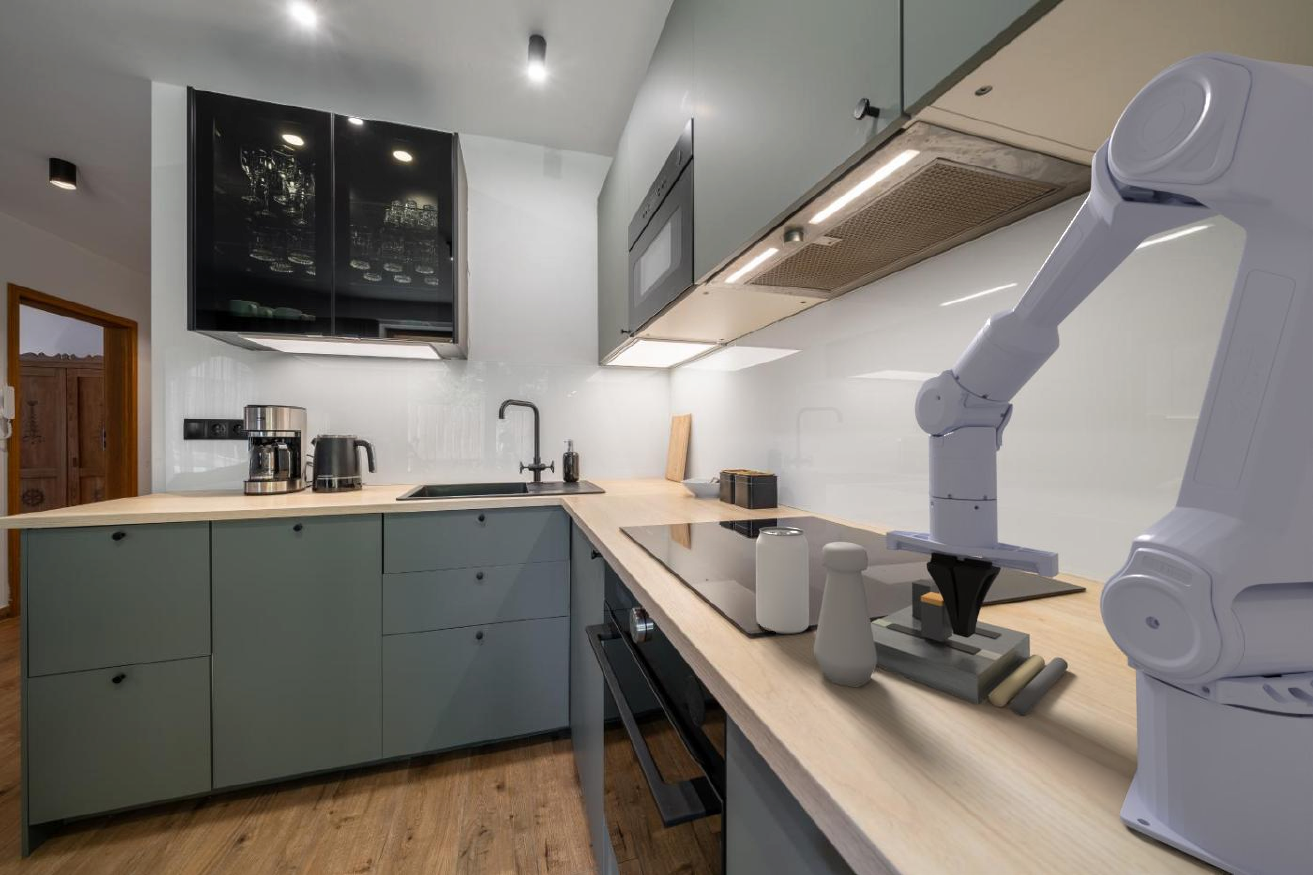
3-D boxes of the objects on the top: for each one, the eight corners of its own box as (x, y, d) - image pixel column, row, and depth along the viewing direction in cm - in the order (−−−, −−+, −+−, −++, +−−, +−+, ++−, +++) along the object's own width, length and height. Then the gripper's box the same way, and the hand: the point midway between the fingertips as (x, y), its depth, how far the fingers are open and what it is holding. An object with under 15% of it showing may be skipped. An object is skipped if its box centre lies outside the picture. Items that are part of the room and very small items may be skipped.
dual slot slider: (1030, 657, 50) (1028, 596, 50) (977, 704, 41) (976, 629, 41) (913, 624, 60) (912, 572, 60) (849, 656, 50) (849, 595, 51)
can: (819, 632, 57) (818, 533, 57) (771, 637, 55) (770, 536, 56) (791, 614, 63) (791, 525, 64) (747, 618, 62) (747, 527, 62)
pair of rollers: (1069, 670, 47) (1069, 658, 47) (1028, 717, 39) (1027, 703, 39) (1034, 660, 49) (1034, 648, 50) (988, 703, 41) (988, 689, 41)
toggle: (951, 636, 49) (951, 596, 49) (942, 642, 47) (941, 601, 47) (931, 630, 50) (930, 591, 50) (921, 635, 49) (920, 596, 49)
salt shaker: (838, 695, 43) (836, 552, 43) (802, 666, 48) (801, 540, 48) (891, 686, 44) (889, 548, 44) (850, 659, 50) (849, 537, 50)
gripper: (1066, 501, 44) (1068, 647, 43) (906, 489, 55) (907, 605, 55) (1044, 507, 39) (1047, 669, 39) (876, 493, 51) (877, 618, 51)
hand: (963, 633), depth 47 cm, fingers closed
